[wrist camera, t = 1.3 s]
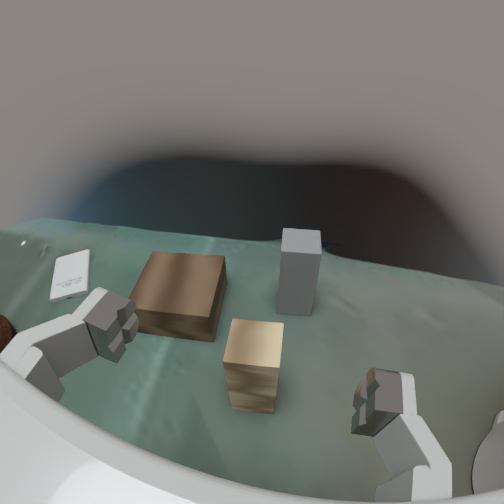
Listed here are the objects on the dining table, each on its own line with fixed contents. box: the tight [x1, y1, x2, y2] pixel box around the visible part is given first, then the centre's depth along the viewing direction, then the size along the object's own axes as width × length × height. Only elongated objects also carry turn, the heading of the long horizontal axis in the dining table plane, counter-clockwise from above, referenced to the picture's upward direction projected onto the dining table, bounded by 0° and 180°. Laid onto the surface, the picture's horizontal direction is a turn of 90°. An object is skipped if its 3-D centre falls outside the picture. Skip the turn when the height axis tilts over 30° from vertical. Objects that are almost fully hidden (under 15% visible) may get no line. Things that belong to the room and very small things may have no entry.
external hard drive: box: [50, 250, 91, 303], centre depth 51 cm, size 2×8×12 cm
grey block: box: [277, 228, 322, 316], centre depth 43 cm, size 5×5×12 cm
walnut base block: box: [129, 252, 227, 342], centre depth 45 cm, size 12×12×6 cm
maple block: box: [223, 319, 284, 414], centre depth 31 cm, size 5×5×12 cm
